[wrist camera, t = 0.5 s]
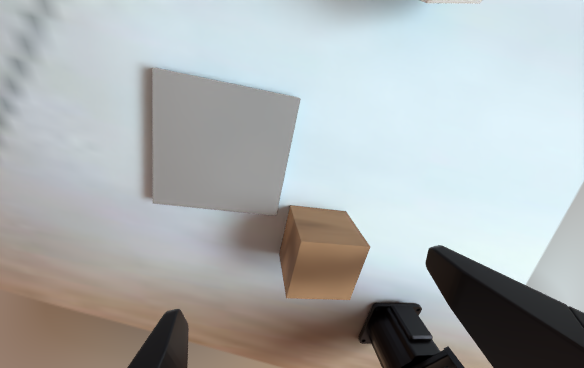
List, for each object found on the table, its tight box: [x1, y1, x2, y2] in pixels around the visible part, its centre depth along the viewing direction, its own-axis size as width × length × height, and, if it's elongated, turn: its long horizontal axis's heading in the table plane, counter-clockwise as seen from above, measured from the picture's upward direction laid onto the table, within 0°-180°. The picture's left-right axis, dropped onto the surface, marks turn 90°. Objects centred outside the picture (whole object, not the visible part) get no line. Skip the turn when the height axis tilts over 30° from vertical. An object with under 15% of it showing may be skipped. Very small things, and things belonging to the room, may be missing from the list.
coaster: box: [152, 68, 300, 216], centre depth 20 cm, size 10×10×1 cm
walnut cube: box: [279, 205, 370, 300], centre depth 22 cm, size 6×6×6 cm
